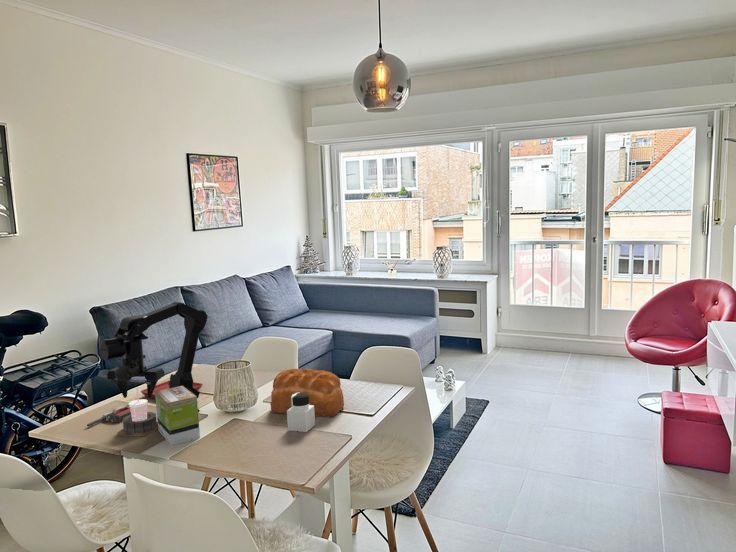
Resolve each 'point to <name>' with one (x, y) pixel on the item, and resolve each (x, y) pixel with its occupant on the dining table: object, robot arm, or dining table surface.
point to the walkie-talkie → (114, 415)
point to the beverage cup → (138, 409)
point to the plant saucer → (166, 386)
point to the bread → (308, 390)
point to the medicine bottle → (300, 413)
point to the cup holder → (139, 426)
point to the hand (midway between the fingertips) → (137, 398)
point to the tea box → (177, 414)
